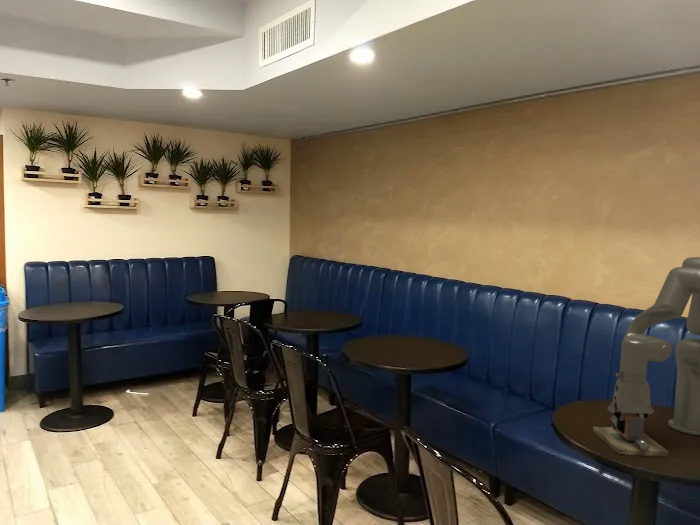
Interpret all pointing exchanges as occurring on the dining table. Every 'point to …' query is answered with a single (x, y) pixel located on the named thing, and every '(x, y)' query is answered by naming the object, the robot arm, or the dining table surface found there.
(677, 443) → the dining table surface
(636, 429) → the orange and grey block
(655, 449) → the base
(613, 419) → the shaft angled
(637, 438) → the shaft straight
